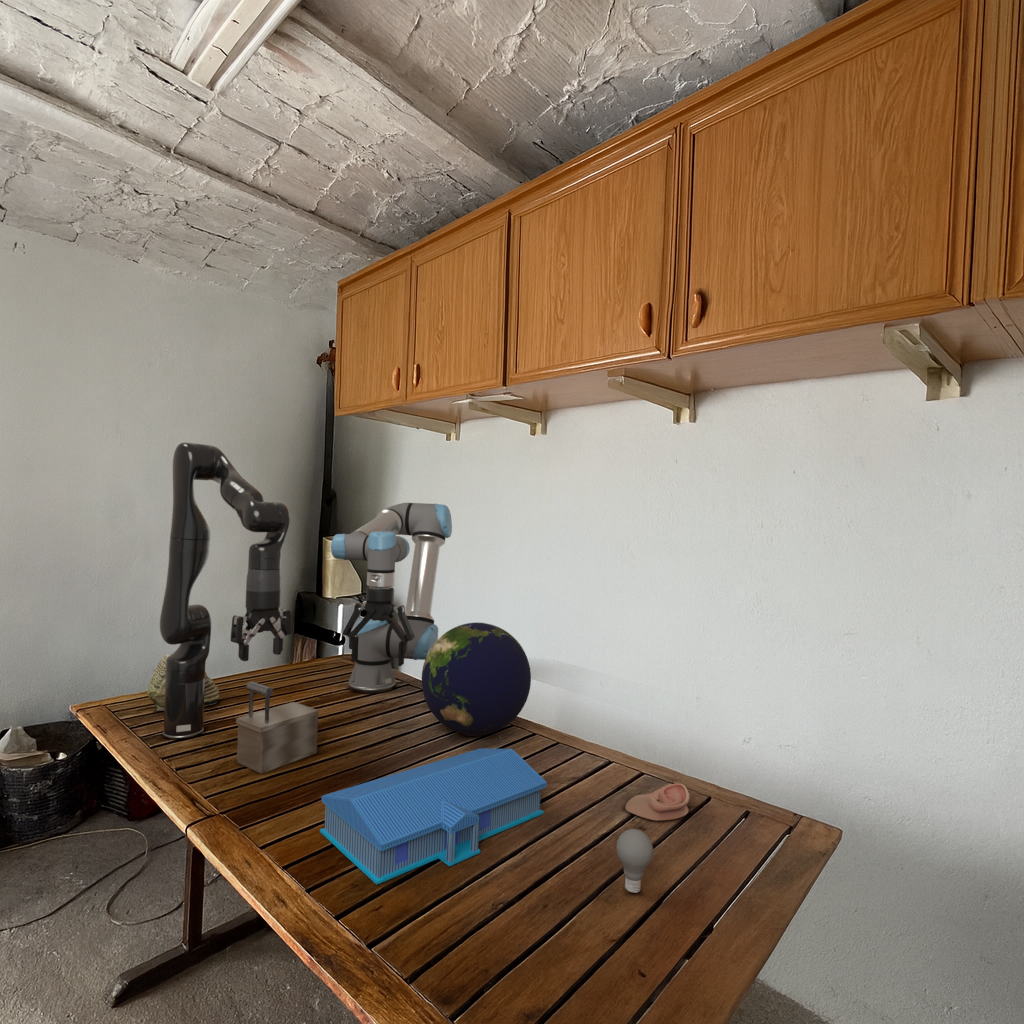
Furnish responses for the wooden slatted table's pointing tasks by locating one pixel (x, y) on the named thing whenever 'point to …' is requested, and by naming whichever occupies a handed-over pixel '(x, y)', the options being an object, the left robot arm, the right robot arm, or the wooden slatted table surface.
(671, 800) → the anatomical model
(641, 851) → the light bulb
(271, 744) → the chest
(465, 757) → the model building
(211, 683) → the fossil
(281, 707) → the grey piece
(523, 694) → the globe
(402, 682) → the wooden slatted table surface
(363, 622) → the right robot arm
